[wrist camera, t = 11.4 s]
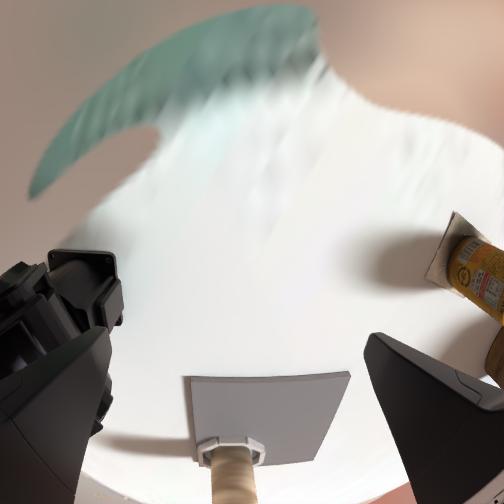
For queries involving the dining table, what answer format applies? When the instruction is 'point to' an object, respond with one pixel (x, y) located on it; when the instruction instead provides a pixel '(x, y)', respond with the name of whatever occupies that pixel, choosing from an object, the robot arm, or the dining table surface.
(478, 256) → the condiment
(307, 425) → the baseplate
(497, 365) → the wooden container
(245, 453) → the beige wooden pepper mill
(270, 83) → the dining table surface
